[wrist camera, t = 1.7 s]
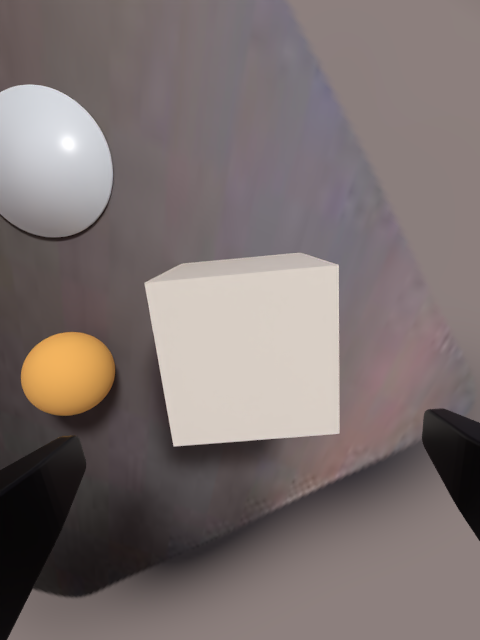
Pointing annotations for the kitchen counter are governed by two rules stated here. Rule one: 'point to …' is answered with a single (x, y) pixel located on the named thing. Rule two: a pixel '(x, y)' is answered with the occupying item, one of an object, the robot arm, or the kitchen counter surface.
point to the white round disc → (51, 162)
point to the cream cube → (248, 348)
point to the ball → (68, 373)
